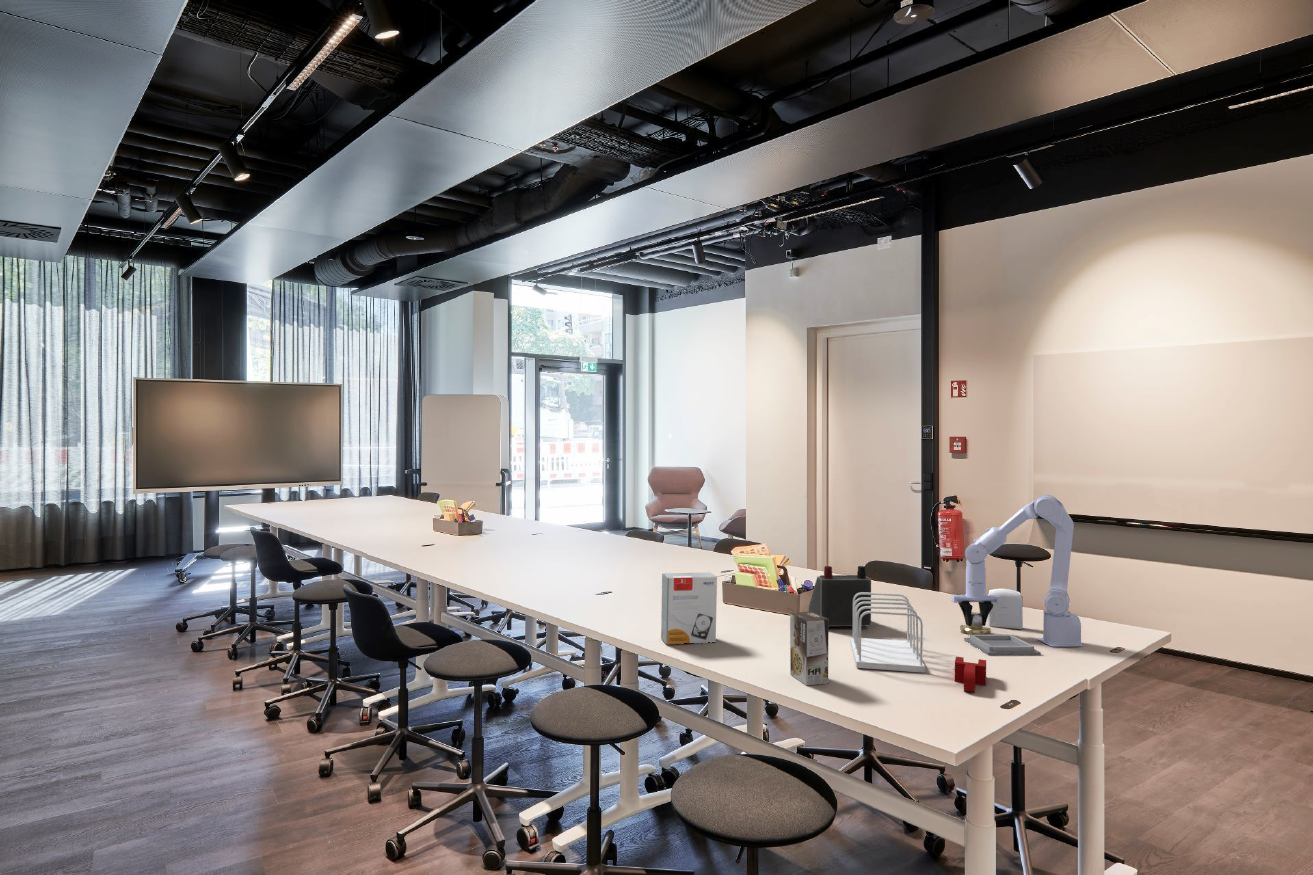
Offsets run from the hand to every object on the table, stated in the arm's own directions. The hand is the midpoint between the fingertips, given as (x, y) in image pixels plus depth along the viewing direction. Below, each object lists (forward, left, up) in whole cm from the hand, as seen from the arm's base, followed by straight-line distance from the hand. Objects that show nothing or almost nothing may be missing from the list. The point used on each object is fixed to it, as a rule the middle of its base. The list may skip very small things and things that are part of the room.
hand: (975, 625), depth 228 cm
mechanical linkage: (+24, +47, -3) cm, 53 cm away
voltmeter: (+40, -12, -3) cm, 42 cm away
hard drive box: (+91, +8, -3) cm, 91 cm away
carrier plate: (0, +16, -2) cm, 16 cm away
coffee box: (+63, +43, -3) cm, 76 cm away
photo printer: (-13, -7, -3) cm, 15 cm away
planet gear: (0, 0, -2) cm, 2 cm away
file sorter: (+37, +25, -3) cm, 45 cm away
